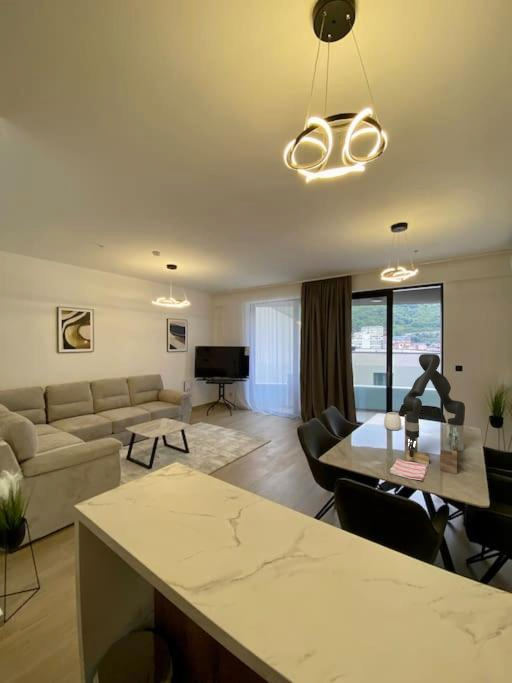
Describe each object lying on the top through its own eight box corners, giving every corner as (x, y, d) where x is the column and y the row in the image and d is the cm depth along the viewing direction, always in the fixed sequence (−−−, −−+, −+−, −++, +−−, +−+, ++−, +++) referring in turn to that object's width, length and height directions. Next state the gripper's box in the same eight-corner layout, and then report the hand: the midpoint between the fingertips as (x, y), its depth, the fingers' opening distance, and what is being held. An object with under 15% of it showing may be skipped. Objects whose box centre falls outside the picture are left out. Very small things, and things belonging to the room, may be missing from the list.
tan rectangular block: (407, 458, 190) (407, 449, 190) (429, 462, 184) (429, 453, 184) (406, 460, 187) (406, 451, 187) (428, 464, 180) (428, 455, 180)
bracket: (460, 468, 173) (460, 434, 173) (445, 466, 177) (445, 432, 177) (455, 453, 197) (455, 423, 197) (442, 451, 201) (442, 421, 201)
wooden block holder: (440, 464, 180) (440, 441, 180) (457, 467, 176) (457, 443, 176) (440, 470, 171) (440, 446, 171) (457, 474, 167) (457, 449, 167)
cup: (403, 429, 252) (403, 413, 252) (398, 432, 243) (398, 416, 243) (387, 426, 261) (387, 410, 261) (381, 429, 252) (381, 413, 252)
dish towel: (388, 475, 167) (388, 468, 167) (397, 461, 186) (397, 455, 186) (423, 483, 157) (423, 477, 157) (428, 468, 176) (428, 462, 176)
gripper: (407, 425, 195) (406, 450, 195) (404, 430, 183) (404, 457, 183) (420, 427, 191) (420, 452, 191) (418, 432, 179) (418, 459, 179)
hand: (412, 454), depth 187 cm, fingers open, 8 cm apart
